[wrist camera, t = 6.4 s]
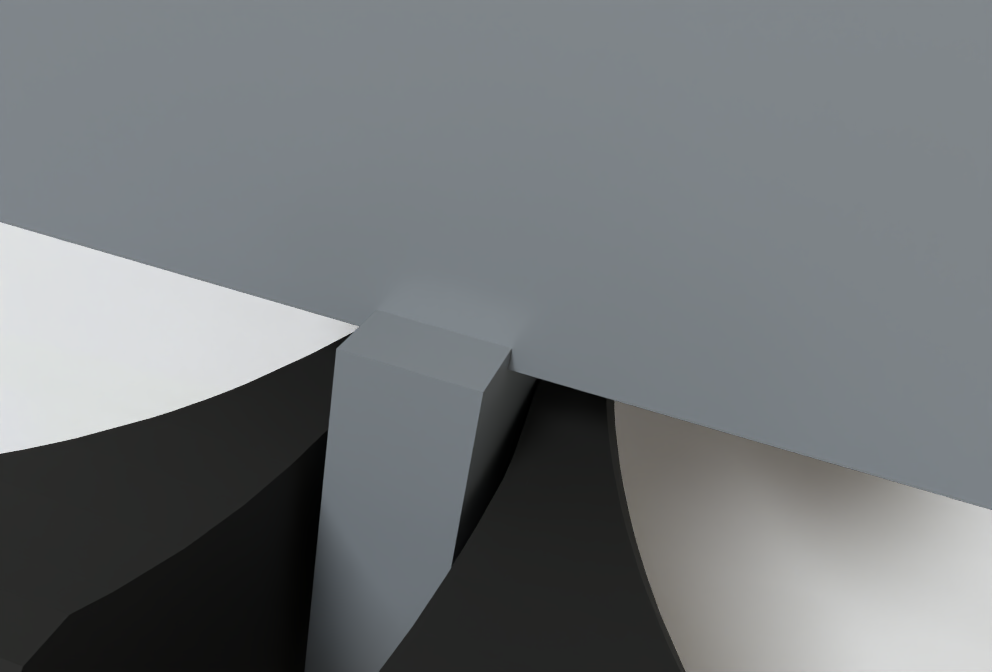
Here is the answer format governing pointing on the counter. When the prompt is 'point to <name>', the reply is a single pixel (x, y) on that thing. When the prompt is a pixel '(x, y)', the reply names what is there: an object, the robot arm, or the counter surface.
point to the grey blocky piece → (541, 228)
